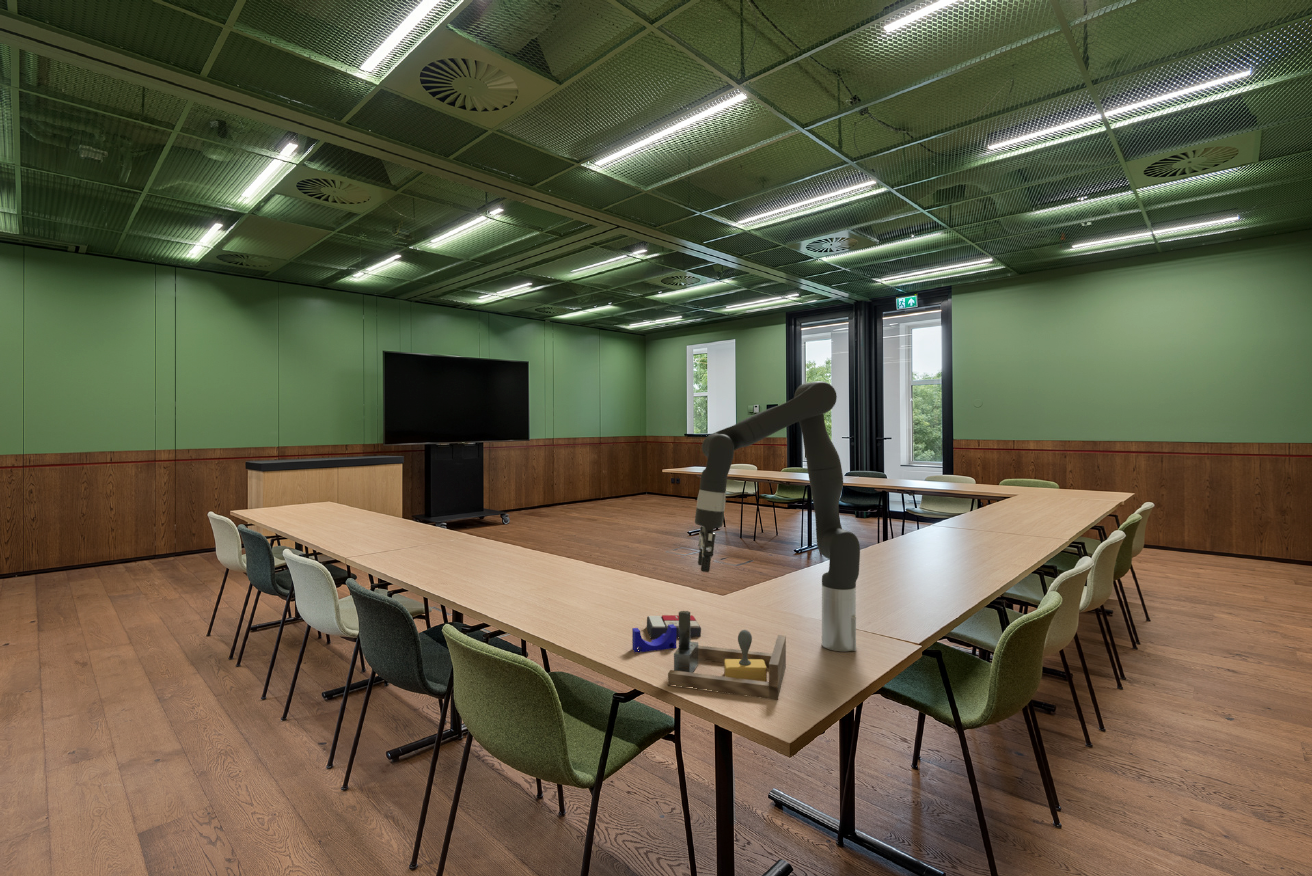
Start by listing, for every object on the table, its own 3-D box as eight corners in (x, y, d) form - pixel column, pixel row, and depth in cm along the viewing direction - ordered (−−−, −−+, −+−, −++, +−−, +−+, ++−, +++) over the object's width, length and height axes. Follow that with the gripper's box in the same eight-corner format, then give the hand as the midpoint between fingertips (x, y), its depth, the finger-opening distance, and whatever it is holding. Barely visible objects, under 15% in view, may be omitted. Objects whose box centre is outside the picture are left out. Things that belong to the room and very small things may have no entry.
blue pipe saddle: (671, 643, 173) (671, 622, 172) (676, 648, 168) (676, 627, 168) (631, 647, 169) (631, 626, 169) (635, 653, 165) (635, 631, 165)
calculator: (701, 625, 177) (651, 625, 175) (700, 640, 177) (650, 640, 175) (694, 614, 188) (647, 613, 186) (693, 627, 188) (646, 627, 186)
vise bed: (785, 666, 155) (785, 635, 155) (777, 699, 136) (777, 665, 136) (688, 655, 163) (688, 626, 163) (668, 685, 144) (668, 652, 144)
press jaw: (698, 663, 157) (698, 608, 156) (689, 677, 148) (689, 619, 147) (683, 661, 158) (683, 606, 157) (674, 675, 149) (673, 617, 148)
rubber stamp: (725, 682, 146) (725, 633, 145) (724, 673, 151) (724, 625, 151) (766, 683, 145) (766, 634, 145) (763, 673, 151) (763, 626, 151)
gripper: (728, 512, 153) (720, 575, 153) (720, 507, 167) (714, 564, 167) (699, 509, 153) (691, 572, 153) (694, 503, 167) (687, 561, 167)
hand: (703, 568), depth 160 cm, fingers open, 8 cm apart
